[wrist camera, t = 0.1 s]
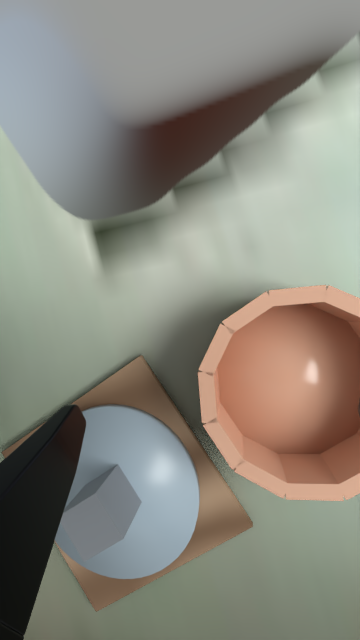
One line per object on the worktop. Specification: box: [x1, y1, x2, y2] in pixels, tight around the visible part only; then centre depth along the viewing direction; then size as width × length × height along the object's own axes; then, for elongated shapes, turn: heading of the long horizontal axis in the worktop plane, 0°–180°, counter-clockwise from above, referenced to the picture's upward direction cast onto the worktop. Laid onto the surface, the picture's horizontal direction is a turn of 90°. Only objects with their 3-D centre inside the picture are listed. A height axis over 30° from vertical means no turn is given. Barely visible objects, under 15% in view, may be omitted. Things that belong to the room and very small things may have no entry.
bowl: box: [198, 285, 360, 501], centre depth 21 cm, size 13×13×5 cm
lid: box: [55, 404, 200, 579], centre depth 23 cm, size 14×14×5 cm
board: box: [2, 355, 253, 612], centre depth 26 cm, size 16×16×1 cm
